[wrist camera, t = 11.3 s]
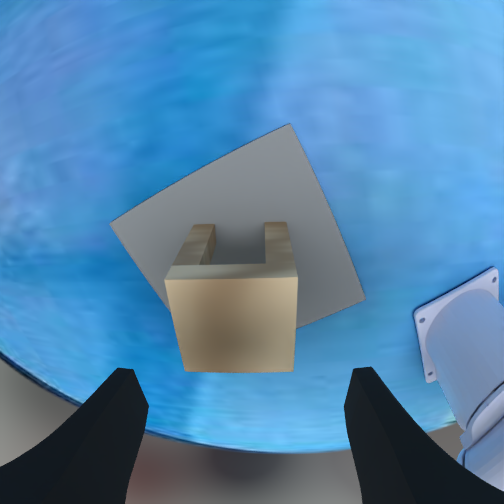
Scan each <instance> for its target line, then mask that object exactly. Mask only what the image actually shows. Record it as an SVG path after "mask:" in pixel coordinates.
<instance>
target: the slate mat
mask: <svg viewBox="0 0 504 504" xmlns="http://www.w3.org/2000/svg"><path fill="white" fill-rule="evenodd" d="M265 222H286V223H287V228H288V232H289V237H290V242H291V246H292V251H293V256H294V261H295V265H296V270H297V275H298V289H297V314H296V329H297V328H300V327H302V326H305V325H307V324H310V323H312V322H315V321H317V320H319V319H322V318H324V317H327V316H329V315H331V314H334V313H336V312H338V311H341V310H343V309H345V308H348V307H350V306H352V305H355V304H357V303H359V302H361V301H363V300H366V298H365V295H364V292H363V289H362V287H361V284H360V281H359V279H358V276H357V273H356V271H355V268H354V266H353V263H352V260H351V258H350V255H349V253H348V250H347V248H346V245H345V243H344V240H343V238H342V235H341V233H340V231H339V228H338V226H337V223H336V221H335V219H334V216H333V214H332V212H331V209H330V207H329V205H328V202H327V200H326V198H325V196H324V193H323V191H322V189H321V187H320V184H319V182H318V180H317V178H316V176H315V174H314V171H313V169H312V167H311V165H310V163H309V161H308V159H307V157H306V155H305V152H304V150H303V148H302V146H301V144H300V142H299V140H298V138H297V136H296V134H295V132H294V130H293V128H292V126H291V124H290V123H289V124H287V125H285V126H283V127H281V128H278V129H276V130H274V131H272V132H270V133H268V134H266V135H264V136H262V137H260V138H258V139H256V140H254V141H252V142H250V143H248V144H246V145H244V146H242V147H240V148H238V149H236V150H234V151H232V152H230V153H228V154H226V155H224V156H222V157H220V158H219V159H217V160H215V161H213V162H211V163H209V164H207V165H206V166H204V167H202V168H200V169H198V170H197V171H195V172H193V173H191V174H189V175H188V176H186V177H184V178H182V179H181V180H179V181H177V182H175V183H174V184H172V185H170V186H169V187H167V188H165V189H163V190H162V191H160V192H158V193H157V194H155V195H153V196H152V197H150V198H148V199H147V200H145V201H144V202H142V203H140V204H139V205H137V206H135V207H134V208H132V209H131V210H129V211H128V212H126V213H124V214H123V215H121V216H120V217H118V218H117V219H115V220H114V221H112V222H111V223H110V226H111V227H112V229H113V230H114V232H115V233H116V235H117V236H118V238H119V240H120V241H121V243H122V244H123V246H124V247H125V249H126V250H127V252H128V253H129V255H130V256H131V257H132V259H133V260H134V262H135V263H136V265H137V266H138V268H139V269H140V271H141V272H142V273H143V275H144V276H145V278H146V279H147V280H148V282H149V283H150V285H151V286H152V287H153V289H154V290H155V292H156V293H157V294H158V296H159V297H160V298H161V300H162V301H163V302H164V304H165V305H166V306H167V308H168V309H169V310H170V305H169V300H168V296H167V291H166V286H165V281H164V279H165V277H166V276H167V274H168V272H169V270H170V268H171V266H172V264H173V262H174V260H175V258H176V256H177V255H178V253H179V251H180V249H181V247H182V245H183V243H184V242H185V240H186V238H187V236H188V234H189V232H190V231H191V229H192V227H193V225H196V224H215V234H216V246H215V249H214V252H213V256H212V259H211V262H210V265H226V264H266V255H265ZM170 312H171V310H170Z"/></svg>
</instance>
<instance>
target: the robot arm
mask: <svg viewBox="0 0 504 504" xmlns="http://www.w3.org/2000/svg"><path fill="white" fill-rule="evenodd" d="M421 318H422V319H421ZM414 319H415V324H416V329H417V334H418V339H419V345H420V350H421V356H422V362H423V368H424V374H425V380H426V382H427V383H431V382H433V381H435V380H437V381H438V383H439V385H440V387H441V389H442V391H443V393H444V395H445V397H446V399H447V401H448V403H449V405H450V407H451V410H452V412H453V414H454V416H455V418H456V421H457V423H458V424H459V426H460V427H461V428H462V429H463V430H464V431H465V432H464V433H463V434H462V435H461V436H460V440H461V443H462V445H463V447H464V448H463V449H462V451H461V452H460V453H459V455H458V458H457V461H455V460H454V459H453V458H452V457H450V455H448V454H447V453H446V452H445V451H444V450H443V449H442V448H441V447H439V446H438V445H437V444H436V443H435V442H434V441H433V440H432V439H431V438H430V437H429V436H428V435H427V434H426V433H425V432H424V431H423V430H422V428H421V427H420V426H419V425H418V424H417V423H416V422H415V421H414V420H413V419H412V417H411V416H410V415H409V414H408V413H407V411H406V410H405V409H404V408H403V407H402V405H401V404H400V403H399V402H398V401H397V399H396V398H395V397H394V395H393V394H392V393H391V392H390V390H389V389H388V388H387V386H386V385H385V384H384V382H383V381H382V380H381V378H380V377H379V376H378V374H377V373H376V372H375V370H374V369H373V368H372V367H364V368H355V369H353V372H352V376H351V381H350V385H349V389H348V392H347V396H346V400H345V404H344V412H345V420H346V427H347V434H348V438H349V442H350V446H351V450H352V454H353V458H354V462H355V466H356V470H357V475H358V479H359V483H360V488H361V493H362V503H363V504H504V307H503V306H502V305H501V304H500V302H499V277H498V270H497V269H496V268H495V267H492V268H490V269H489V270H487V271H486V272H484V273H482V274H481V275H479V276H477V277H475V278H474V279H472V280H470V281H469V282H467V283H465V284H463V285H461V286H460V287H458V288H456V289H454V290H452V291H451V292H449V293H447V294H445V295H443V296H441V297H439V298H438V299H436V300H434V301H432V302H430V303H428V304H426V305H424V306H422V307H420V308H418V309H417V310H416V311H415V312H414ZM420 319H421V320H420ZM148 408H149V405H148V403H147V401H146V398H145V396H144V394H143V391H142V389H141V387H140V384H139V382H138V380H137V377H136V375H135V372H134V370H133V369H125V368H117V369H116V370H115V371H114V372H113V373H112V374H111V375H110V376H109V377H108V378H107V379H106V380H105V381H104V382H103V383H102V385H101V386H100V387H99V388H98V389H97V390H96V391H95V392H94V393H93V394H92V395H91V396H90V397H89V398H88V399H87V400H86V401H85V402H84V403H83V404H82V406H81V407H80V408H79V409H78V410H77V411H76V412H75V413H74V414H73V415H71V416H70V417H69V418H68V419H67V420H66V421H65V422H64V423H63V424H62V425H61V426H60V427H59V428H58V429H56V430H55V431H54V432H53V433H52V434H50V435H49V436H48V437H47V438H46V439H44V440H43V441H41V442H40V443H39V444H38V445H36V446H35V447H33V448H32V449H30V450H29V451H27V452H25V453H24V454H22V455H21V456H19V457H18V458H16V459H14V460H13V461H11V462H9V463H7V464H5V465H3V466H1V467H0V504H125V500H126V493H127V488H128V483H129V479H130V476H131V473H132V470H133V467H134V463H135V460H136V457H137V454H138V451H139V447H140V444H141V441H142V438H143V434H144V431H145V426H146V420H147V414H148Z"/></svg>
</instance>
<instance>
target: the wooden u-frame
mask: <svg viewBox="0 0 504 504" xmlns="http://www.w3.org/2000/svg"><path fill="white" fill-rule="evenodd" d="M215 246H216V234H215V224H196V225H193V227H192V229H191V231H190V232H189V234H188V236H187V238H186V240H185V242H184V243H183V245H182V247H181V249H180V251H179V253H178V255H177V256H176V258H175V260H174V262H173V264H172V266H171V268H170V270H169V272H168V274H167V276H166V277H165V279H164V281H165V286H166V291H167V296H168V300H169V305H170V310H171V314H172V319H173V323H174V328H175V332H176V336H177V340H178V344H179V348H180V352H181V356H182V360H183V364H184V368H185V371H189V372H221V373H261V372H293V369H294V353H295V335H296V314H297V289H298V275H297V270H296V265H295V261H294V256H293V251H292V246H291V242H290V237H289V232H288V228H287V223H286V222H265V255H266V264H226V265H210V262H211V259H212V256H213V252H214V249H215Z"/></svg>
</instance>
